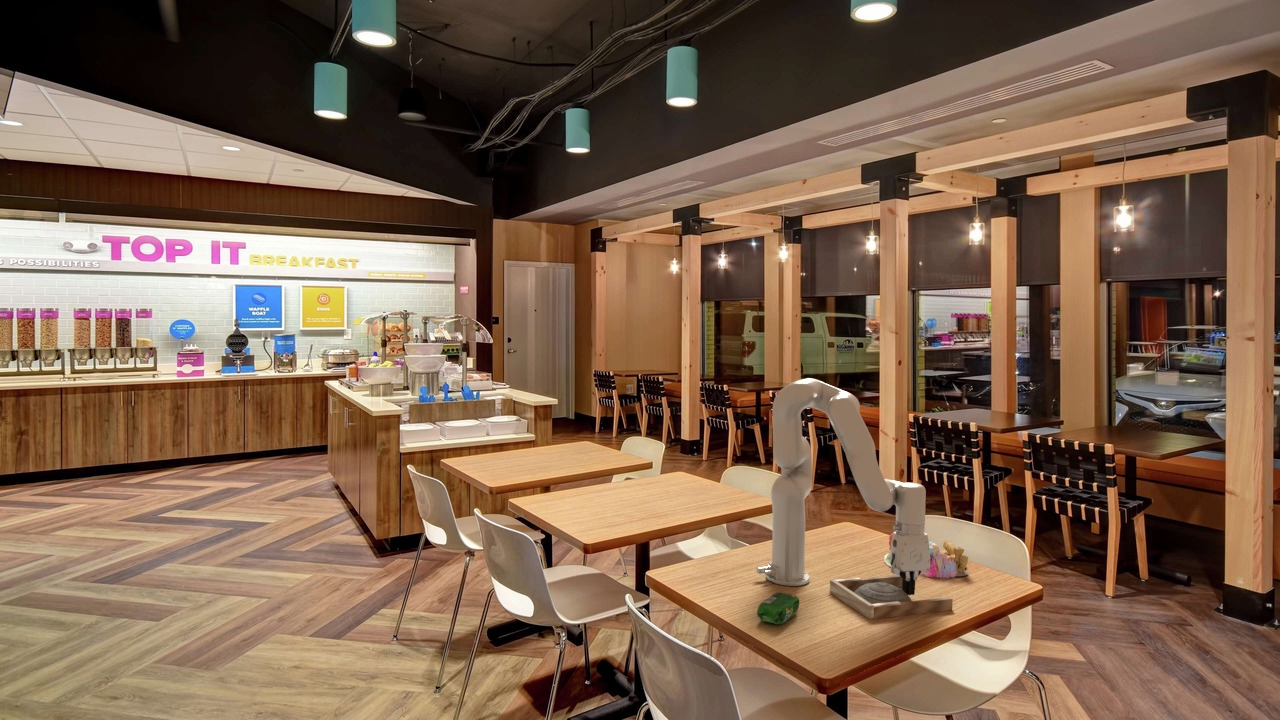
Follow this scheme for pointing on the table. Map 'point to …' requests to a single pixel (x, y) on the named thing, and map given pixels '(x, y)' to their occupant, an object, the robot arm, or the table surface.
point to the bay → (888, 609)
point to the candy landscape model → (941, 560)
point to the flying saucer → (881, 593)
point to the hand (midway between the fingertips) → (908, 593)
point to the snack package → (778, 608)
